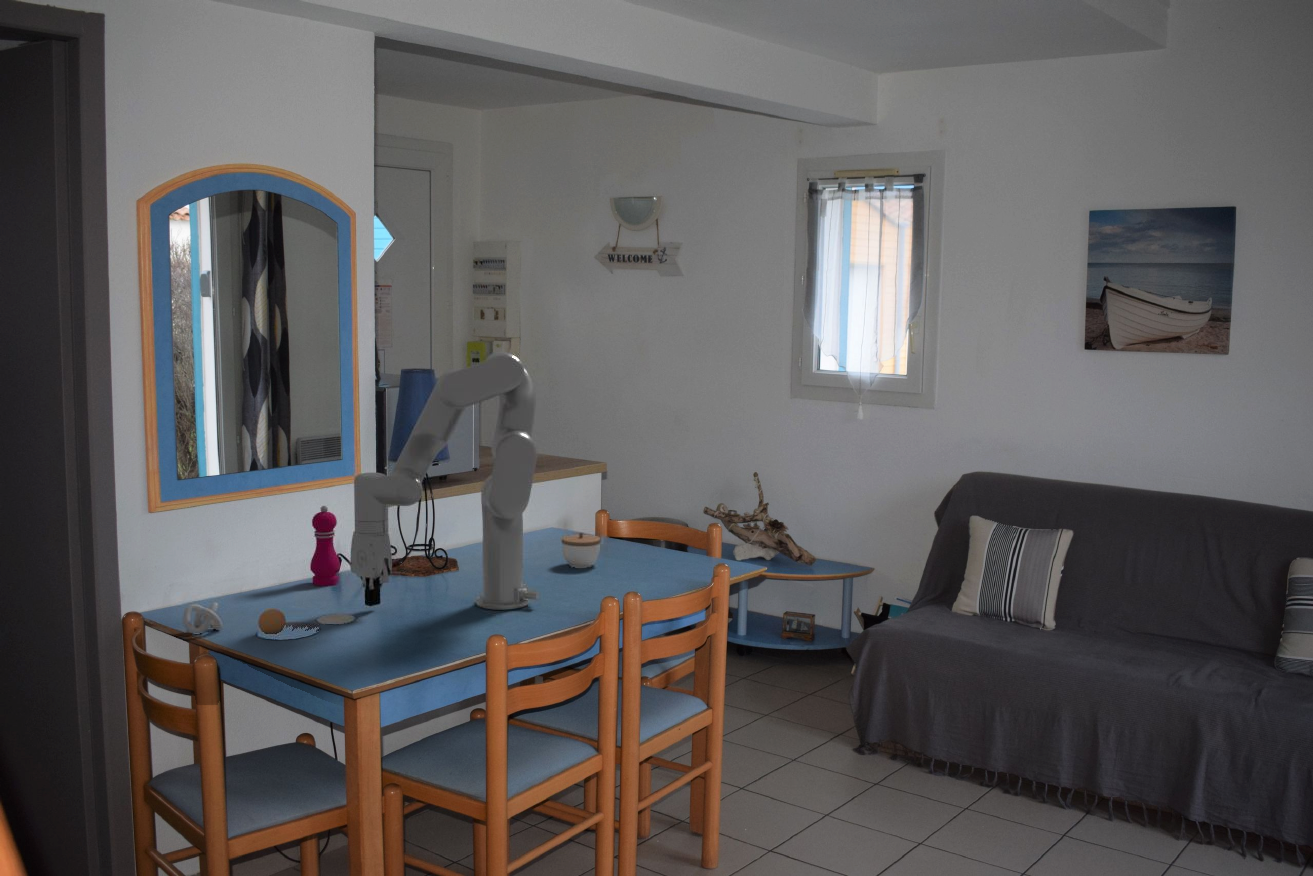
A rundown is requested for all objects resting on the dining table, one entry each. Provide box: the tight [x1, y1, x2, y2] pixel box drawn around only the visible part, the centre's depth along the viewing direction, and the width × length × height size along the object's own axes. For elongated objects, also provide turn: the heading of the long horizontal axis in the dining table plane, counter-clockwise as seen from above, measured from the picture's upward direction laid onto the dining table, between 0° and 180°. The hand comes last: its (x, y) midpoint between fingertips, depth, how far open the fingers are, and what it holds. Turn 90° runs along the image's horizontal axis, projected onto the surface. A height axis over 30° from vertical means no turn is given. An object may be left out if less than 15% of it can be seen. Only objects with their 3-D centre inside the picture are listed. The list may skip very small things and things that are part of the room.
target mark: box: [285, 621, 321, 632], centre depth 235 cm, size 13×13×1 cm
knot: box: [182, 601, 223, 634], centre depth 234 cm, size 8×8×6 cm
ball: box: [257, 608, 287, 634], centre depth 232 cm, size 6×6×6 cm
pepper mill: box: [309, 505, 341, 587], centre depth 275 cm, size 7×7×20 cm
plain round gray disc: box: [316, 613, 355, 625], centre depth 244 cm, size 8×8×1 cm
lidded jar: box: [561, 531, 602, 569], centre depth 300 cm, size 11×11×9 cm
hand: (372, 604), depth 252 cm, fingers closed
